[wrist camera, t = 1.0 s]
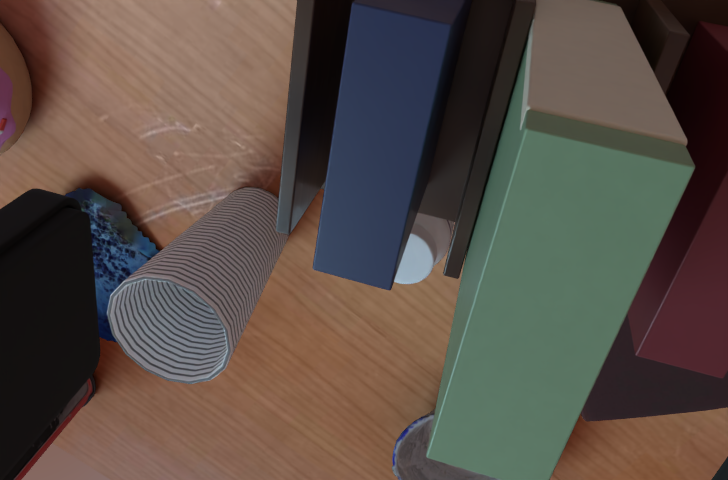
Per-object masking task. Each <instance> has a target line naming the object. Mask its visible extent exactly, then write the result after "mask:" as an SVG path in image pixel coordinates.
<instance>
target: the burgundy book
mask: <svg viewBox="0 0 728 480" xmlns="http://www.w3.org/2000/svg"><path fill="white" fill-rule="evenodd" d="M667 100H668V102H669V104H670V106H671V108H672V110H673V112H674V114H675V116H676V118H677V120H678V122H679V124H680V126H681V128H682V130H683V132H684V134H685V136H686V138H687V145H686V148H687V150H688V152H689V154H690V157H691V159H692V161H693V163H694V165H695V169H694V171H693V174H692V176H691V178H690V180H689V182H688V184H687V186H686V189H685V191H684V193H683V195H682V197H681V199H680V201H679V204H678V206H677V208H676V210H675V212H674V214H673V216H672V219H671V221H670V223H669V225H668V227H667V229H666V231H665V234H664V236H663V238H662V240H661V242H660V244H659V246H658V249H657V251H656V253H655V255H654V257H653V259H652V261H651V264H650V266H649V268H648V270H647V272H646V274H645V276H644V279H643V281H642V283H641V285H640V287H639V289H638V291H637V294H636V296H635V298H634V300H633V302H632V304H631V306H630V309H629V311H628V318H629V324H630V329H631V334H632V339H633V345H634V350H635V355H636V356H639V357H643V358H647V359H651V360H654V361H658V362H662V363H666V364H669V365H673V366H677V367H681V368H685V369H688V370H692V371H696V372H700V373H703V374H707V375H711V376H715V377H719V378H723V377H724V376H725V374H726V373H727V371H728V26H723V25H718V24H713V23H708V22H703V21H699V22H698V24H697V27H696V29H695V32H694V34H693V36H692V39H691V41H690V44H689V46H688V48H687V51H686V53H685V56H684V58H683V60H682V63H681V65H680V68H679V70H678V72H677V75H676V77H675V80H674V82H673V84H672V87H671V89H670V92H669V94H668V96H667Z"/></svg>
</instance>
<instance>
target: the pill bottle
mask: <svg viewBox="0 0 728 480" xmlns="http://www.w3.org/2000/svg"><path fill="white" fill-rule="evenodd" d="M453 226H454V222H453V221H449V220H445V219H441V218H437V217H433V216H429V215H425V214H421V213H417V216H416V219H415V222H414V225H413V228H412V231H411V233H410V236H409V239H408V242H407V245H406V248H405V251H404V254H403V257H402V259H401V262H400V265H399V268H398V271H397V274H396V277H395V280H394V282H397V283H401V284H412V283H416V282H419V281H421V280H423V279H425V278H426V277H427V276H428V275H429V274H430V273H431V271H432V269H433V266H434V265H436V264H437V263H438V262H439V261H440V260H441V259H442V258H443V257H444V256H445V254H446V252H447V250H448V247H449V245H450V240H451V235H452V231H453Z"/></svg>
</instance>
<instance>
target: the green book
mask: <svg viewBox="0 0 728 480" xmlns="http://www.w3.org/2000/svg"><path fill="white" fill-rule="evenodd" d="M686 145H687V138H686V136H685V134H684V132H683V130H682V128H681V126H680V124H679V122H678V120H677V118H676V116H675V114H674V112H673V110H672V108H671V106H670V104H669V102H668V100H667V98H666V96H665V94H664V92H663V90H662V88H661V86H660V84H659V82H658V80H657V78H656V76H655V74H654V72H653V70H652V69H651V67H650V65H649V63H648V61H647V59H646V57H645V55H644V53H643V51H642V49H641V47H640V45H639V43H638V41H637V39H636V37H635V35H634V33H633V31H632V29H631V27H630V25H629V23H628V21H627V19H626V17H625V15H624V13H623V11H622V9H621V7H620V6H617V4H614V3H609V2H604V1H599V0H536V7H535V11H534V14H533V18H532V21H531V25H530V28H529V32H528V36H527V39H526V43H525V46H524V50H523V53H522V57H521V60H520V64H519V67H518V71H517V74H516V78H515V81H514V85H513V89H512V92H511V96H510V99H509V103H508V106H507V110H506V113H505V117H504V120H503V124H502V127H501V131H500V134H499V138H498V142H497V145H496V149H495V152H494V156H493V159H492V163H491V166H490V170H489V173H488V177H487V180H486V184H485V187H484V191H483V195H482V198H481V202H480V205H479V209H478V212H477V216H476V219H475V223H474V226H473V230H472V233H471V237H470V241H469V244H468V248H467V253H466V258H465V263H464V268H463V273H462V278H461V283H460V288H459V293H458V298H457V303H456V308H455V313H454V318H453V323H452V328H451V333H450V338H449V344H448V349H447V354H446V359H445V364H444V369H443V374H442V379H441V384H440V389H439V394H438V399H437V404H436V409H435V414H434V419H433V424H432V429H431V434H430V439H429V444H428V449H427V454H426V456H427V458H429V459H433V460H436V461H440V462H443V463H446V464H450V465H453V466H456V467H460V468H463V469H466V470H470V471H473V472H477V473H480V474H483V475H487V476H490V477H493V478H497V479H500V480H550V478H551V476H552V473H553V471H554V469H555V467H556V465H557V463H558V461H559V459H560V456H561V454H562V452H563V450H564V448H565V446H566V444H567V441H568V439H569V437H570V435H571V433H572V431H573V429H574V426H575V424H576V422H577V420H578V418H579V416H580V414H581V411H582V409H583V407H584V405H585V403H586V401H587V399H588V396H589V394H590V392H591V390H592V388H593V386H594V384H595V381H596V379H597V377H598V375H599V373H600V371H601V369H602V366H603V364H604V362H605V360H606V358H607V356H608V354H609V351H610V349H611V347H612V345H613V343H614V341H615V339H616V336H617V334H618V332H619V330H620V328H621V326H622V324H623V321H624V319H625V317H626V315H627V313H628V311H629V309H630V306H631V304H632V302H633V300H634V298H635V296H636V294H637V291H638V289H639V287H640V285H641V283H642V281H643V279H644V276H645V274H646V272H647V270H648V268H649V266H650V264H651V261H652V259H653V257H654V255H655V253H656V251H657V249H658V246H659V244H660V242H661V240H662V238H663V236H664V234H665V231H666V229H667V227H668V225H669V223H670V221H671V219H672V216H673V214H674V212H675V210H676V208H677V206H678V204H679V201H680V199H681V197H682V195H683V193H684V191H685V189H686V186H687V184H688V182H689V180H690V178H691V176H692V174H693V171H694V169H695V165H694V163H693V161H692V159H691V157H690V154H689V152H688V150H687V148H686Z"/></svg>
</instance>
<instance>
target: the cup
mask: <svg viewBox="0 0 728 480" xmlns="http://www.w3.org/2000/svg"><path fill="white" fill-rule="evenodd" d="M277 210H278V198H277V197H276V196H275V195H274V194H272V193H270V192H267V191H265V190H263V189H261V188H252V187H244V188H241V189H238V190H235V191H233V192H232V193H231V194H230V195H228V196H227V197H226V198H225V199H223V200H222V201H221V202H220V203H219V204H217V205H216V206H215V207H214V208H212V209H211V210H210V211H209V212H208V213H206V214H205V215H204V216H203V217H201V218H200V219H199V220H198V221H197V222H195V223H194V224H193V225H192V226H190V227H189V228H188V229H187V230H186V231H184V232H183V233H182V234H181V235H179V236H178V237H177V238H176V239H175V240H173V241H172V242H171V243H170V244H168V245H167V246H166V247H165V248H164V249H162V250H161V251H160V252H159V253H158V254H156V255H155V256H154V257H153V258H151V259H150V260H149V261H148V262H147V263H145V264H144V265H143V266H142V267H140V268H139V269H138V270H137V271H136V272H134V273H133V274H132V275H131V276H129V277H128V278H127V279H126V280H125V281H123V282H122V283H121V285H120V286H119V287H118V288H117V289H116V290H115V291H114V292H113V293H112V294H111V295H110V301H109V306H108V311H107V316H108V320H109V323H110V327H111V331H112V334H113V336H114V338H115V339H116V341H117V342H118V343H119V345H120V346H121V348H122V349H123V351H124V352H125V354H126V355H127V356H129V357H130V358H131V359H132V360H133V361H135V362H136V363H137V364H138V365H140V366H141V367H142V368H143V369H144V370H146V371H148V372H150V373H152V374H155V375H157V376H159V377H161V378H163V379H165V380H168V381H174V382H181V383H188V384H193V383H198V382H203V381H208V380H212V379H213V378H214V377H216V376H217V375H218V374H219V373H221V372H222V371H223V370H224V369H226V367H227V365H228V363H229V361H230V359H231V356H232V354H233V352H234V350H235V348H236V346H237V344H238V342H239V340H240V338H241V336H242V333H243V331H244V329H245V327H246V325H247V323H248V321H249V319H250V317H251V315H252V312H253V310H254V308H255V306H256V304H257V302H258V300H259V298H260V296H261V294H262V292H263V289H264V287H265V285H266V283H267V281H268V279H269V277H270V275H271V273H272V271H273V268H274V266H275V264H276V262H277V260H278V258H279V256H280V254H281V252H282V250H283V248H284V245H285V243H286V241H287V239H288V236H289V235H287V234H283V233H280V232H276V221H277Z"/></svg>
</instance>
